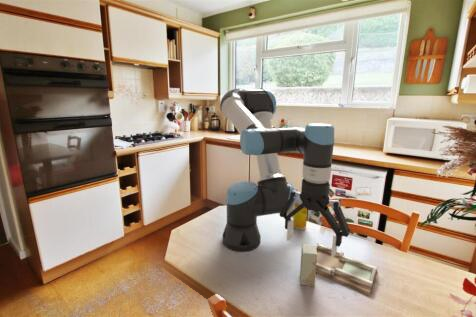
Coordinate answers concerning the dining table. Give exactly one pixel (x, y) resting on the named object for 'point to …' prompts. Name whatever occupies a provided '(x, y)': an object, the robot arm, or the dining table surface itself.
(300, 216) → the glass of beer
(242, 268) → the dining table surface
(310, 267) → the box
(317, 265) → the shallow beige tray
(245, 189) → the robot arm
